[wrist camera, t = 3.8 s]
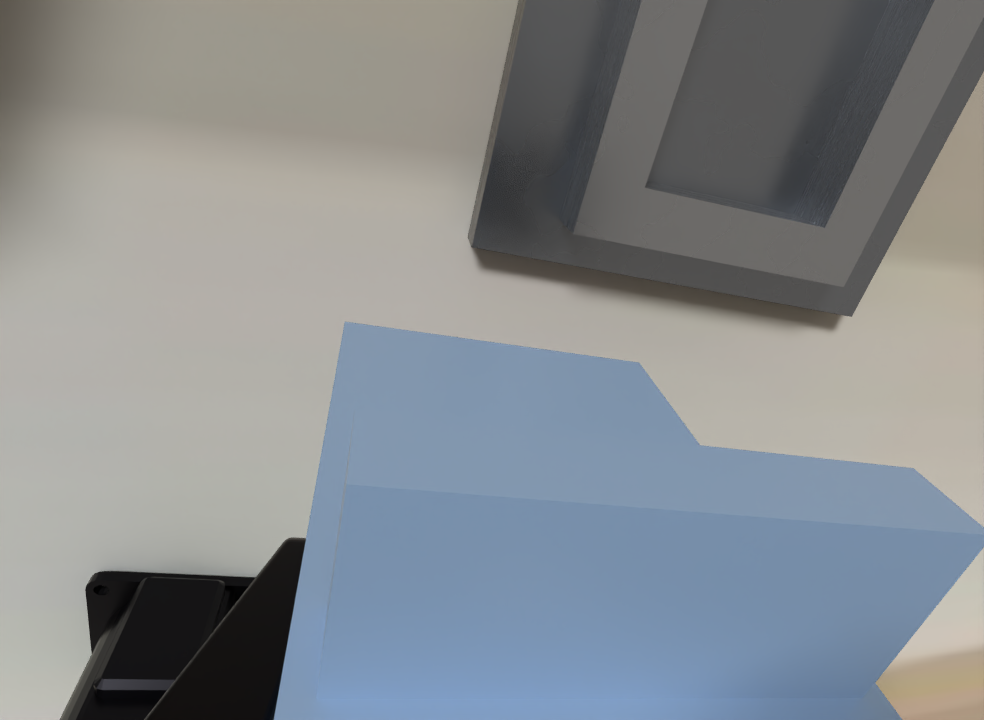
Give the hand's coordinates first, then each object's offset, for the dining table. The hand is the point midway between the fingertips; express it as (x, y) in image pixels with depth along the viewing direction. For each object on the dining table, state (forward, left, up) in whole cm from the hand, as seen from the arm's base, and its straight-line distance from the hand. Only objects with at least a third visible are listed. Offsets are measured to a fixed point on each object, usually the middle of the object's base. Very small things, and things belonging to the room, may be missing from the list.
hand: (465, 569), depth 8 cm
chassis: (+8, -7, -11) cm, 16 cm away
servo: (0, 0, -1) cm, 1 cm away
